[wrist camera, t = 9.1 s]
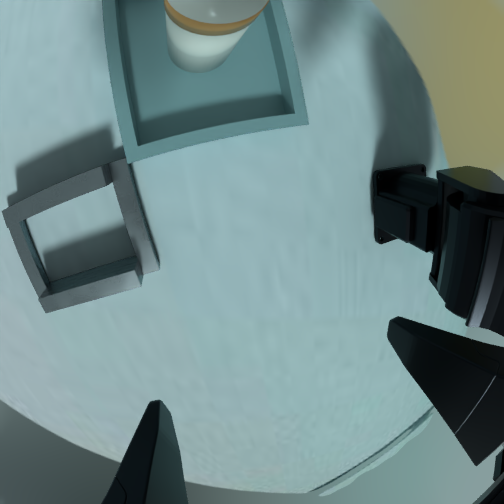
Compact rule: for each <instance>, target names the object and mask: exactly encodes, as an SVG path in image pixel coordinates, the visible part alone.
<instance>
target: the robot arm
mask: <svg viewBox="0 0 504 504" xmlns="http://www.w3.org/2000/svg"><path fill="white" fill-rule="evenodd" d="M379 174H380V178H378V176H379ZM437 179H438V180H437ZM437 179H434V178H430V177H426V167H425V165H423V164H415V165H408V166H401V167H395V168H388V169H382V170H377V171H375V172H374V174H373V183H374V204H375V241H376V242H377V243H379V244H383V243H386V242H389V241H392V240H395V239H400V240H402V241H404V242H406V243H410V244H412V245H414V246H415V247H417V248H419V249H421V250H423V251H424V252H430V253H432V254H433V261H432V268H431V272H430V275H429V280H430V282H431V283H432V284H433V286H434V287H435V288H436V290H437V291H438V293H439V295H440V296H441V297H442V299H443V300H444V302H446V303H445V307H446V308H447V309H448V310H449V311H451V312H452V313H453V314H455V315H457V316H459V317H461V318H463V319H466V323H465V325H466V326H468V327H481V328H485V329H489V330H491V331H493V332H496V333H498V334H500V335H502V336H504V181H503V180H502V179H501V178H500V177H499V176H497V175H496V174H495V173H493V172H492V171H491V170H487V169H482V168H477V167H471V166H463V167H457V168H450V169H444V170H438V171H437ZM380 238H381V239H380ZM387 337H388V340H389V342H390V343H391V345H392V347H393V348H394V350H395V352H396V353H397V355H398V357H399V358H400V360H401V361H402V363H403V365H404V366H405V368H406V369H407V370H408V372H409V373H410V374H411V376H412V377H413V378H414V380H415V381H416V382H417V384H418V385H419V386H420V388H421V389H422V390H423V392H424V393H425V394H426V396H427V397H428V398H429V400H430V401H431V402H432V404H433V405H434V407H435V408H436V409H437V411H438V412H439V413H440V415H441V416H442V417H443V419H444V420H445V422H446V423H447V425H448V426H449V427H450V429H451V430H452V432H453V433H454V434H455V436H456V438H457V439H458V441H459V442H460V444H461V445H462V447H463V448H464V450H465V451H466V453H467V454H468V456H469V457H470V459H471V460H472V462H473V463H474V465H475V466H478V465H479V464H480V463H481V462H482V461H483V460H485V459H486V458H487V457H488V456H489V455H490V454H491V453H493V452H494V451H495V450H496V449H497V448H498V447H499V446H500V445H502V446H503V447H504V347H500V346H496V345H491V344H487V343H483V342H480V341H476V340H473V339H472V340H471V339H469V338H466V337H463V336H460V335H457V334H453V333H450V332H447V331H444V330H441V329H437V328H434V327H431V326H428V325H425V324H422V323H418V322H415V321H412V320H409V319H406V318H403V317H399V316H398V317H395V318H393V319H391V320H390V321H389V326H388V332H387ZM115 476H116V477H114V480H113V482H112V484H111V486H110V488H109V490H108V492H107V494H106V496H105V498H104V500H103V502H102V503H101V504H188V499H187V494H186V488H185V482H184V475H183V468H182V461H181V455H180V449H179V445H178V441H177V437H176V433H175V429H174V425H173V420H172V416H171V413H170V411H169V410H168V409H167V407H166V406H165V404H164V403H163V402H162V401H161V400H155V401H151V402H150V403H149V404H148V406H147V408H146V410H145V412H144V415H143V417H142V419H141V421H140V423H139V425H138V427H137V429H136V432H135V434H134V436H133V438H132V440H131V442H130V444H129V447H128V449H127V451H126V453H125V455H124V457H123V460H122V462H121V464H120V466H119V468H118V471H117V473H116V475H115ZM493 480H494V481H495V482H494V483H493V484H492V485H491V486H490V487H489V488H488V489H487V490H486V491H485V492H484V493H483V494H482V495H481V496H480V497H479V498H478V499H477V500H476V501H475V502H474V503H473V504H504V448H503V449H502V450H501V451H500V452H499V454H498V455H497V456H496V461H495V470H494V476H493Z"/></svg>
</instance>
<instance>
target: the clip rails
mask: <svg viewBox="0 0 504 504" xmlns="http://www.w3.org/2000/svg"><path fill="white" fill-rule="evenodd" d="M112 182H113V185H114V188H115V192H116V195H117V199H118V202H119V205H120V209H121V212H122V215H123V218H124V221H125V225H126V228H127V231H128V234H129V236H130V239H131V242H132V245H133V248H134V251H135V254H136V256H133V257H130V258H126V259H123V260H120V261H116V262H113V263H110V264H107V265H103V266H100V267H97V268H94V269H90V270H87V271H84V272H81V273H78V274H75V275H72V276H68V277H65V278H62V279H59V280H56V281H53V282H49V280H48V278H47V276H46V273H45V271H44V269H43V267H42V264H41V262H40V260H39V257H38V255H37V253H36V250H35V248H34V245H33V242H32V240H31V237H30V234H29V232H28V229H27V226H26V223H25V219H27V218H29V217H31V216H33V215H35V214H38V213H40V212H42V211H44V210H47V209H49V208H51V207H54V206H56V205H58V204H61V203H63V202H66V201H68V200H71V199H73V198H76V197H78V196H81V195H83V194H86V193H89V192H91V191H94V190H97V189H99V188H102V187H105V186H107V185H109V184H110V183H112ZM2 213H3V217H4V220H5V223H6V226H7V228H8V227H9V230H10V233H11V236H12V238H13V241H14V244H15V246H16V249H17V251H18V254H19V256H20V258H21V261H22V263H23V265H24V268H25V270H26V272H27V274H28V276H29V279H30V281H31V283H32V285H33V287H34V289H35V291H36V293H37V295H38V297H39V299H38V300H39V302H40V303H41V305H42V307H43V309H44V311H45V313H49V312H52V311H56V310H59V309H63V308H67V307H70V306H74V305H77V304H81V303H85V302H88V301H92V300H95V299H99V298H103V297H106V296H110V295H113V294H117V293H121V292H124V291H128V290H131V289H135V288H138V287H141V285H142V280H143V275H144V274H148V273H151V272H155V271H158V270H160V264H159V261H158V258H157V255H156V252H155V249H154V246H153V243H152V240H151V237H150V234H149V231H148V228H147V225H146V221H145V218H144V215H143V212H142V208H141V205H140V201H139V198H138V194H137V191H136V187H135V183H134V180H133V176H132V172H131V168H130V164H128V163H127V159H126V158H123V159H120V160H117V161H114V162H112V163H109V164H106V165H103V166H100V167H97V168H94V169H92V170H89V171H87V172H84V173H82V174H79V175H77V176H74V177H72V178H69V179H67V180H65V181H62V182H60V183H58V184H55V185H53V186H51V187H49V188H46V189H44V190H42V191H40V192H38V193H36V194H34V195H32V196H30V197H28V198H26V199H24V200H22V201H20V202H18V203H16V204H14V205H12V206H10V207H8V208H6V209H5V210H3V211H2Z"/></svg>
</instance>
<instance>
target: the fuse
mask: <svg viewBox="0 0 504 504" xmlns="http://www.w3.org/2000/svg"><path fill="white" fill-rule="evenodd" d="M268 2H269V0H164V8H165V14H166V32H167V47H168V54H169V57H170V59H171V61H172V62H173V63H174V64H175V65H176V66H177V67H179V68H180V69H182V70H184V71H187V72H191V73H204V72H209V71H212V70H214V69H216V68H218V67H219V66H221V65H222V64H223V63H224V62H225V61H226V59H227V58H228V56H229V55H230V53H231V52H232V50H233V49H234V47H235V46H236V44H237V43H238V41H239V40H240V39H241V37H242V36H243V34H244V33H245V31H246V30H247V29H248V27H249V26H250V25H251V23H253V22H254V21H255V19H256V18H257V17H258V16H259V14H260V13H261V12H262V11H263V9H264V8H265V7H266V5H267V4H268Z"/></svg>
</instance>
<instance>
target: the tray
mask: <svg viewBox="0 0 504 504" xmlns="http://www.w3.org/2000/svg"><path fill="white" fill-rule="evenodd" d="M102 6H103V21H104V33H105V43H106V51H107V59H108V67H109V74H110V80H111V87H112V92H113V98H114V104H115V109H116V114H117V119H118V124H119V129H120V133H121V138H122V142H123V147H124V151H125V155H126V159H127V163H128V164H129V163H132V162H136V161H139V160H142V159H145V158H148V157H152V156H155V155H159V154H162V153H166V152H169V151H173V150H177V149H181V148H184V147H188V146H192V145H196V144H201V143H205V142H209V141H214V140H218V139H223V138H228V137H233V136H238V135H243V134H248V133H254V132H260V131H266V130H272V129H279V128H286V127H293V126H301V125H309V122H308V116H307V110H306V105H305V99H304V94H303V89H302V84H301V79H300V74H299V69H298V64H297V60H296V55H295V51H294V46H293V42H292V38H291V34H290V30H289V26H288V22H287V18H286V14H285V11H284V7H283V3H282V0H269V2H268V4H267V5H266V7H265V8H264V9H263V11H262V12H261V13H260V14H259V16H258V17H257V18H256V19H255V21H254V22H253V23H251V25H250V26H249V27H248V29H247V30H246V31H245V33H244V34H243V36H242V37H241V39H240V40H239V41H238V43H237V44H236V46H235V47H234V49H233V50H232V52H231V53H230V55H229V56H228V58H227V59H226V61H225V62H224V63H223V64H222V65H221V66H219V67H218V68H216V69H214V70H212V71H209V72H204V73H191V72H187V71H184V70H182V69H180V68H179V67H177V66H176V65H175V64H174V63H173V62H172V61H171V59H170V57H169V54H168V47H167V32H166V14H165V8H164V0H102Z"/></svg>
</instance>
